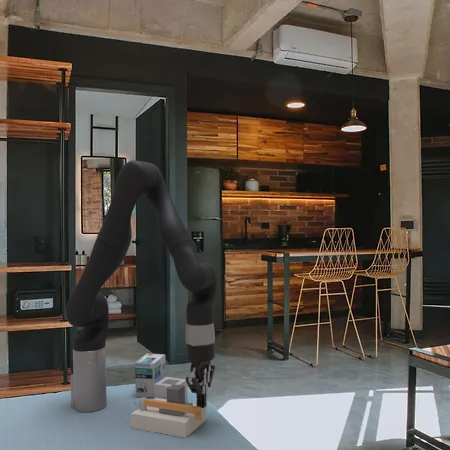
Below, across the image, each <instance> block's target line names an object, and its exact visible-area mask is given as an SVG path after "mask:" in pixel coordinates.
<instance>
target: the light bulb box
mask: <svg viewBox="0 0 450 450" xmlns="http://www.w3.org/2000/svg"><path fill="white" fill-rule="evenodd" d="M134 371H135V372H134V375H135V376H134V377H135V378H134V380H135V382H134V384H135V397H137V398H141V397H146V398H148V399H151V398H153V399H154V384H155V383H157V382H159V381H160V380H162V379H164V378H166V377H167V376H166V375H167V373H166V371H167V368H166V354H161V353H146V354H145V355H143V356H142V357H140V358H139V359H138V360H137V361H135V362H134Z"/></svg>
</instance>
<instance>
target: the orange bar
mask: <svg viewBox="0 0 450 450" xmlns="http://www.w3.org/2000/svg"><path fill="white" fill-rule="evenodd" d="M147 406H148V407H154V408H160V409H167V410H173V411H179V412H185V413H191V414H195V420H198V421H200V420H201V407H197V406H191V405H185V404H178V403H172V402H165V401H159V400H153V399H151V398H147V397H139V408H140V410H146V409H147Z"/></svg>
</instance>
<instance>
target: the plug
mask: <svg viewBox="0 0 450 450" xmlns="http://www.w3.org/2000/svg"><path fill="white" fill-rule="evenodd" d="M167 402H172V403H178V404H185V405H191V406H193V403H192V402H188V403H187V402H185V386H183V385H176V384H173V385H171V386H170V387H168V388H167ZM159 413H165V414H171V415H177V416H182V415H183V414H184V413H185V412H179V411H173V410H167V409H160V408H159Z"/></svg>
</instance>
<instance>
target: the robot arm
mask: <svg viewBox="0 0 450 450" xmlns="http://www.w3.org/2000/svg"><path fill="white" fill-rule="evenodd" d="M140 196H144V198H146V200H147V201H148V202H149V204H150V205H151V207H152V208H153V210H154V212H155V216H156V222H157V228H158V233H159V234H160V238H161V240H162V242H163V244H164V246H165V247H166V249H167V251H168V252H169V254H170V256H171V258H172V261H173V263H174V267H175V270H176V274H177V277H178V279H179V281H180V283H181V285H182V286H183V287H184V288H185V289H186V290H187V291H188V292H191V293H192V294H191V299H190V300H189V301H188V302H187V305H186V309H185V310H186V313H185V314H186V317H185V318H186V320H185V321H186V327H185V351H186V352H185V355H186V356H185V357H186V360H188V361H189V362H190V363H191V364H190V369H189V370H190V375H189V376H186V377H185V379H186V382H187V387H188V388H189V390H190V392H191V393H192V394H196V395H195V396H196V404H197V407H201V408H204V407H206V405H207V406H208V404H207V401H208V399H207V397H208V396H207V392H208V391H209V388H211V385H212V381H213V377H214V374H215V371H216V366H215V364H212V362H211V361H213V360H215V358H216V339H215V338H216V336H215V335H216V334H215V325H214V302H215V298H216V292H217V285H218V275H217V273H216V272H217V271H216V269H215V268H214V266H213V265H211V264H210V263H208V262H200V263H199V261H198V259H197V256H196V253H197V249H198V247H197V244H196V243H195V241H194V240H193V238H192V235H191V234H190V233H189V231H188V229H187V228H186V226H185V224H184V222H183V220H182V218H181V217H180V214H179V213H178V210H177V209H176V206H175V203H174V202H173V200H172V197H171V194H170V192H169V190H168V187H167V184H166V181H165V178H164V177H163V175H162V172H161V170H160V169H159V167H158V166H157V165H156V164H154V163H151V162H148V161H147V162H146V161H139V160H130V161H127V162H125V163H124V165H122V167H121V169H120V171H119V173H118V175H117V179H116V182H115V186H114V190H113V194H112V196H111V199H110V202H109V206H108V209H107V211H106V215H105V217H104V220H103V222H102V224H101V227H100V229H99V231H98V234H97V236H96V238H95V241H94V243H93V247H92V249H91V253H90V255H89V258H88V260H87V262H86V265H85V267H84V269H83V271H82V273H81V276H80V278H79V280H78V282H77V284H76V285H75V287H74V290H73V291H72V293H71V294H70V297H69V299H68V300H67V304H66V307H65V316H66V317H65V318H66V320H67V322H68V324H69V325H71V326H72V327H74V328H75V327H76V328H82V329H81V331H80V332H79V334H78V335H76V336H75V338H74V339H73V340H72V363H73V364H72V365H73V366H72V369H73V373H72V374H70V405H71V406H70V407H71V408H72V409H74V411H77V412H81V413H91V412H95V411H99V410H102V409H104V408H105V407H106V406H107V404H108V403H107V358H106V357H107V356H106V354H107V353H106V352H107V351H106V342H107V339H108V335H109V316H110V314H109V313H110V311H109V304H108V300H107V298H106V296H105V295H104V294H103V293H102V292H100V291H101V289H102V287H103V286H104V285H105V283H106V282H107V281H108V280H110V278H111V277H112V276H113V275H114V274H115V272H117V270H118V269H119V268H120V267H121V265H122V264H123V262H124V261H125V257H126V255H127V253H128V251H129V248H130V247H131V242H132V236H133V233H132V215H133V212H134V209H135V206H136V204H137V202H138V200H139V199H140Z"/></svg>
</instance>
